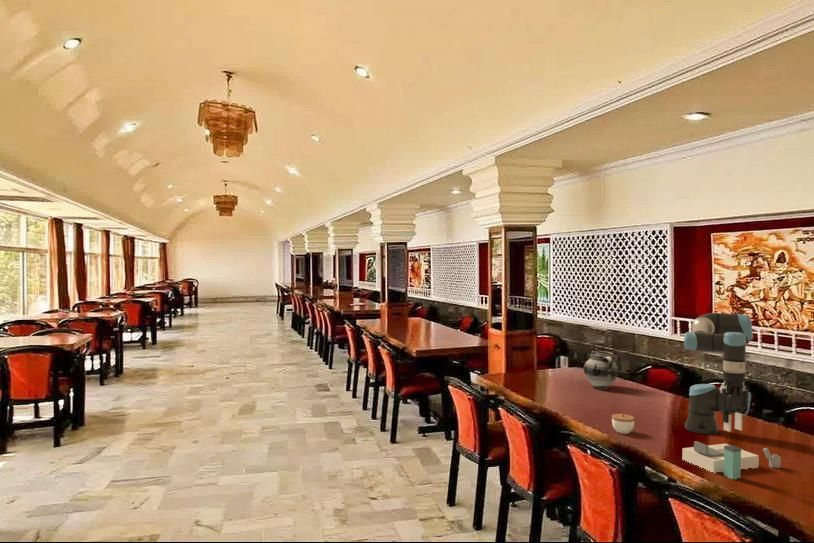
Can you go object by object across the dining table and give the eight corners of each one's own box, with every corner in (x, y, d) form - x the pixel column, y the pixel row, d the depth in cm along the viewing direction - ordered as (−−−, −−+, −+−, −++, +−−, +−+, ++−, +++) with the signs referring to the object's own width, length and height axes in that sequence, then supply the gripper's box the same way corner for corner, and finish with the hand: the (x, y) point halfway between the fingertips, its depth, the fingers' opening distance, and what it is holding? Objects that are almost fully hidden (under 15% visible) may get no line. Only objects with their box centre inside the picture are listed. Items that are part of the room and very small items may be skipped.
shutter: (708, 449, 232) (709, 438, 232) (724, 455, 224) (725, 444, 224) (692, 450, 229) (692, 440, 229) (707, 457, 222) (707, 446, 222)
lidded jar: (620, 436, 265) (620, 417, 265) (607, 429, 275) (607, 411, 275) (639, 434, 268) (639, 415, 268) (624, 428, 278) (625, 410, 278)
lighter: (777, 466, 227) (778, 447, 227) (781, 467, 225) (781, 448, 225) (761, 466, 226) (762, 447, 226) (765, 468, 225) (765, 448, 224)
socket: (725, 454, 240) (725, 443, 240) (758, 467, 225) (758, 455, 225) (682, 459, 233) (682, 448, 233) (713, 473, 218) (713, 461, 218)
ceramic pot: (575, 383, 385) (576, 348, 384) (605, 383, 387) (606, 348, 387) (594, 393, 356) (595, 355, 356) (627, 392, 359) (628, 355, 359)
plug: (731, 474, 217) (732, 445, 216) (740, 478, 213) (741, 448, 213) (723, 475, 215) (724, 445, 215) (732, 479, 211) (733, 449, 211)
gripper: (724, 374, 207) (723, 434, 208) (760, 372, 213) (758, 431, 213) (708, 370, 215) (707, 429, 215) (743, 368, 220) (741, 425, 220)
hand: (732, 429), depth 214 cm, fingers open, 5 cm apart
